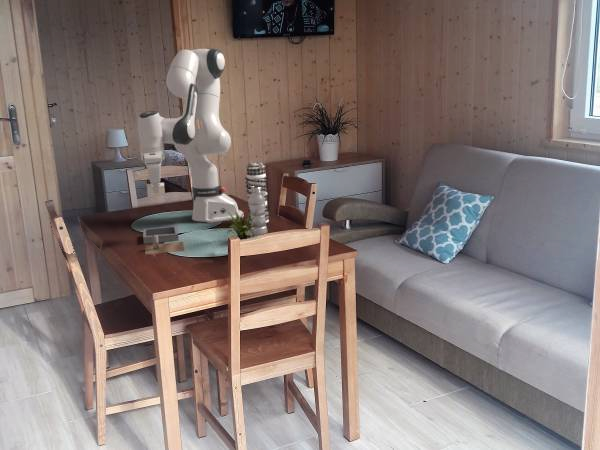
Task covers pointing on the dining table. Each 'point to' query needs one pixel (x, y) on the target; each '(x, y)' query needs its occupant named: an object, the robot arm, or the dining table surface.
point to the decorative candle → (257, 182)
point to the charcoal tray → (160, 234)
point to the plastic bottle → (257, 211)
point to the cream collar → (151, 190)
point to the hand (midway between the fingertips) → (156, 190)
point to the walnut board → (163, 247)
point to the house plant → (238, 226)
